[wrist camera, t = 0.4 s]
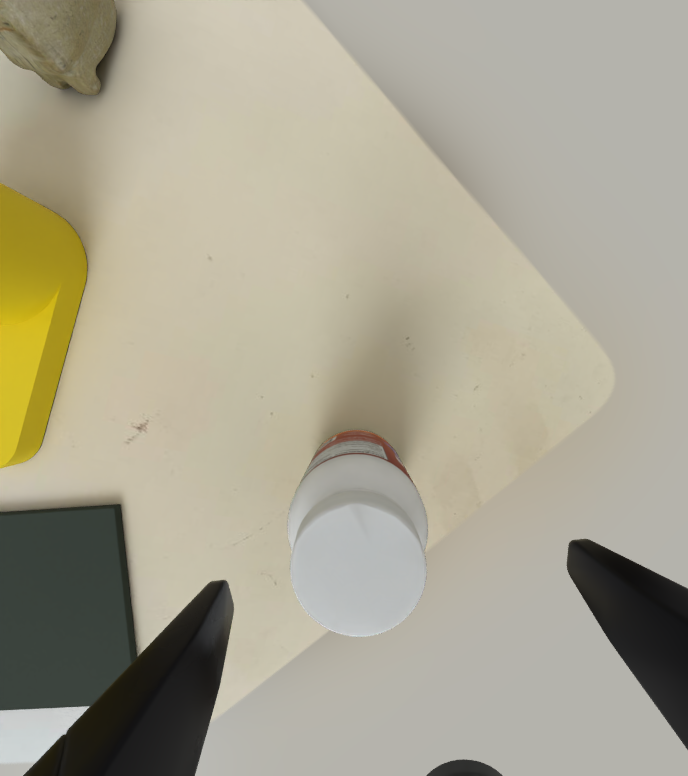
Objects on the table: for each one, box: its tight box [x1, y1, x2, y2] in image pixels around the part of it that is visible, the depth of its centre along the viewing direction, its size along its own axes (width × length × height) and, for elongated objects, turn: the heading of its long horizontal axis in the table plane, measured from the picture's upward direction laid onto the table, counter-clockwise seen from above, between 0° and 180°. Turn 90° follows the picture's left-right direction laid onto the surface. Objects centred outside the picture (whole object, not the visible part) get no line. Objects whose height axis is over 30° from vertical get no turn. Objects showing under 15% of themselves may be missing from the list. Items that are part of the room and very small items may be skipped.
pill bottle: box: [287, 430, 428, 637], centre depth 16 cm, size 6×6×11 cm
